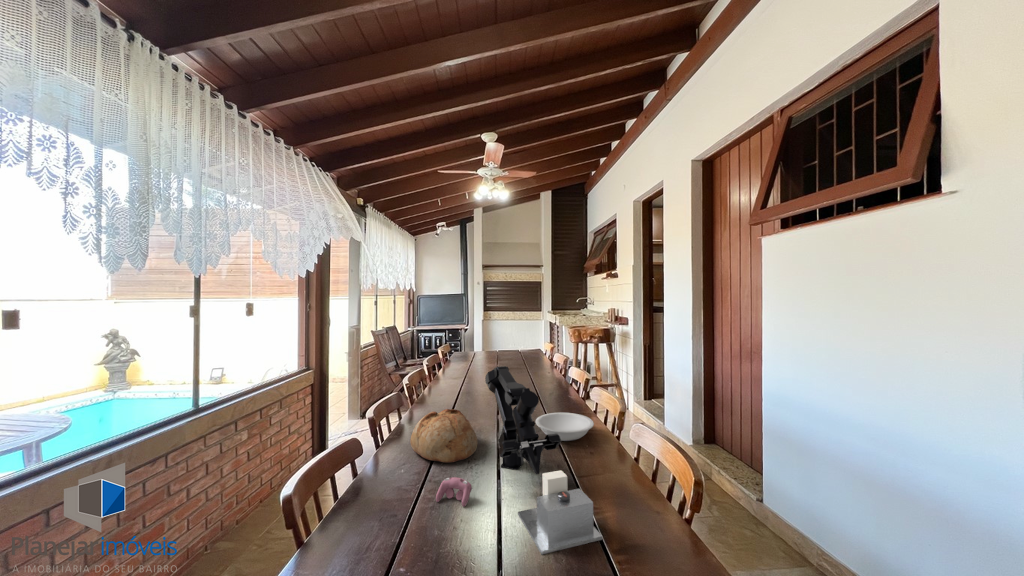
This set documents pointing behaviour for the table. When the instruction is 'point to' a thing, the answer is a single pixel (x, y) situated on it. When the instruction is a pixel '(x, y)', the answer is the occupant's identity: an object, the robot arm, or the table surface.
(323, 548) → the table surface
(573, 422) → the soup bowl
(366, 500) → the table surface
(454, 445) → the bread
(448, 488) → the video game controller
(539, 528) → the mount
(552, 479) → the white rectangular block
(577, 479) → the table surface
